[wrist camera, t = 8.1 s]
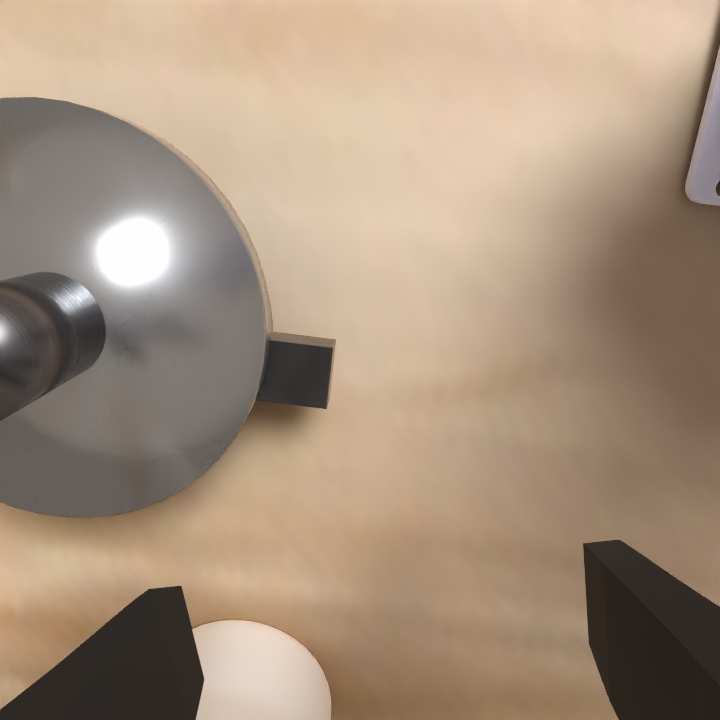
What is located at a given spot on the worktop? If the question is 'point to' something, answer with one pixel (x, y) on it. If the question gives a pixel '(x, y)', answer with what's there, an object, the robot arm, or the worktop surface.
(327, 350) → the pot
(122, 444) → the lid
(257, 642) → the water bottle
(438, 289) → the worktop surface
